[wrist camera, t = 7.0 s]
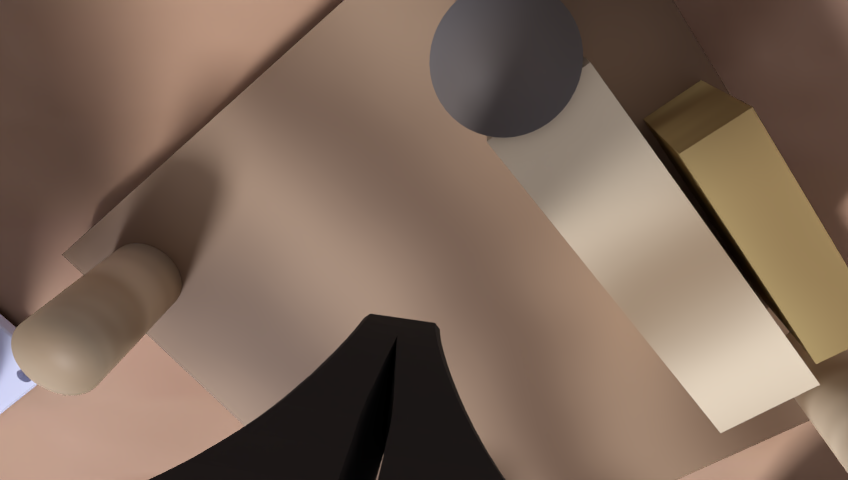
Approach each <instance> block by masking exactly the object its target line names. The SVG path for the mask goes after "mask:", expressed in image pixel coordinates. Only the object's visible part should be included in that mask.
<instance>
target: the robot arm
mask: <svg viewBox="0 0 848 480" xmlns="http://www.w3.org/2000/svg"><path fill="white" fill-rule="evenodd" d="M15 329H16V327H15V326H14V325H13V324H11V323H10V322H9V321H8V320H7V319H6V318H4V317H3V316H2V315H1V314H0V414H1V413H3V412H4V411H5V410H6V409H7V408H9V407H10V406H11V405H12V404H14V403H15V402H16V401H17V400H19V399H20V398H21V397H22V396H24V395H25V394H26V393H27V392H29V391H30V390H31V389H32V388H34V387H35V386H36V385H37V384H36V383H34V382H33V381H32V380H31V379H29V378H28V377H27V376H26V375H25V374H24V372H23V371H22V370H21V369H20V367H19V366H18V364H17V363H16V361H15V359H14V356H13V353H12V349H11V339H12V335H13V332H14V330H15ZM383 454H384V456H383ZM382 457H383V460H382ZM381 461H382V464H381ZM380 464H381V468H380ZM379 468H380V473H379V477H378V480H505V478H504V477H503V475H502V474H501V472H500V471H499V469H498V468H497V466H496V464H495V463H494V461H493V460H492V458H491V456H490V455H489V453H488V452H487V450H486V448H485V446H484V445H483V443H482V441H481V439H480V437H479V435H478V434H477V432H476V430H475V428H474V426H473V424H472V422H471V420H470V418H469V416H468V414H467V412H466V410H465V407H464V405H463V403H462V401H461V399H460V396H459V394H458V391H457V389H456V386H455V384H454V381H453V379H452V376H451V373H450V370H449V367H448V364H447V361H446V358H445V354H444V351H443V347H442V342H441V336H440V329H439V327H438V326H437V325H436V323H433V322H426V321H419V320H412V319H405V318H398V317H391V316H384V315H377V314H369V315H367V316H366V317H365V318H363V320H362V321H361V322H360V324H359V325H358V326H357V327H356V328H355V330H354V331H353V332H352V333H351V334H350V335H349V336H348V338H347V339H346V340H345V341H344V342H343V343H342V344H341V345H340V346H339V347H338V348H337V349H336V350H335V351H334V352H333V353H332V354H331V355H330V356H329V357H328V358H327V359H326V360H325V361H324V362H323V363H322V364H321V365H320V366H319V367H318V368H317V369H316V370H315V371H314V372H313V373H312V374H311V375H310V376H308V377H307V378H306V379H305V380H304V381H303V382H301V383H300V384H299V385H298V386H297V387H296V388H294V389H293V390H292V391H291V392H290V393H289V394H287V395H286V396H285V397H284V398H283V399H281V400H280V401H279V402H277V403H276V404H275V405H274V406H272V407H271V408H270V409H268V410H267V411H266V412H264V413H263V414H262V415H260V416H259V417H257V418H256V419H254V420H253V421H252V422H250V423H249V424H247V425H246V426H244V427H243V428H241V429H240V430H238V431H237V432H235V433H234V434H232V435H230V436H229V437H227V438H226V439H224V440H222V441H221V442H219V443H217V444H216V445H214V446H212V447H210V448H209V449H207V450H205V451H204V452H202V453H200V454H198V455H197V456H195V457H193V458H191V459H190V460H188V461H186V462H184V463H182V464H180V465H178V466H176V467H174V468H172V469H170V470H168V471H166V472H164V473H162V474H160V475H158V476H156V477H153V478H151V479H149V480H376V478H377V474H378V471H379Z"/></svg>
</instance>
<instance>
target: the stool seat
mask: <svg viewBox="0 0 848 480" xmlns="http://www.w3.org/2000/svg"><path fill="white" fill-rule="evenodd" d="M456 1H457V0H344V1H343V2H341V3H340V4H339V5H338V6H337V7H336V8H335V9H334V10H333V11H332V12H330V13H329V14H328V15H327V16H326V17H325V18H324V19H323V20H322V21H320V22H319V23H318V24H317V25H316V26H315V27H314V28H313V29H312V30H310V31H309V32H308V33H307V34H306V35H305V36H304V37H303V38H302V39H300V40H299V41H298V42H297V43H296V44H295V45H294V46H293V47H292V48H291V49H289V50H288V51H287V52H286V53H285V54H284V55H283V56H282V57H281V58H279V59H278V60H277V61H276V62H275V63H274V64H273V65H272V66H271V67H269V68H268V69H267V70H266V71H265V72H264V73H263V74H262V75H261V76H259V77H258V78H257V79H256V80H255V81H254V82H253V83H252V84H251V85H250V86H248V87H247V88H246V89H245V90H244V91H243V92H242V93H241V94H240V95H238V96H237V97H236V98H235V99H234V100H233V101H232V102H231V103H230V104H228V105H227V106H226V107H225V108H224V109H223V110H222V111H221V112H220V113H218V114H217V115H216V116H215V117H214V118H213V119H212V120H211V121H210V122H209V123H207V124H206V125H205V126H204V127H203V128H202V129H201V130H200V131H199V132H197V133H196V134H195V135H194V136H193V137H192V138H191V139H190V140H189V141H187V142H186V143H185V144H184V145H183V146H182V147H181V148H180V149H179V150H177V151H176V152H175V153H174V154H173V155H172V156H171V157H170V158H169V159H168V160H166V161H165V162H164V163H163V164H162V165H161V166H160V167H159V168H158V169H156V170H155V171H154V172H153V173H152V174H151V175H150V176H149V177H148V178H146V179H145V180H144V181H143V182H142V183H141V184H140V185H139V186H138V187H136V188H135V189H134V190H133V191H132V192H131V193H130V194H129V195H128V196H127V197H125V198H124V199H123V200H122V201H121V202H120V203H119V204H118V205H117V206H115V207H114V208H113V209H112V210H111V211H110V212H109V213H108V214H107V215H105V216H104V217H103V218H102V219H101V220H100V221H99V222H98V223H97V224H95V225H94V226H93V227H92V228H91V229H90V230H89V231H88V232H87V233H86V234H84V235H83V236H82V237H81V238H80V239H79V240H78V241H77V242H76V243H74V244H73V245H72V246H71V247H70V248H69V249H68V250H67V251H66V252H64V253H63V254H62V255H63V256H64V257H65V258H66V259H67V260H68V261H69V262H70V263H71V264H73V265H74V266H75V267H76V268H77V269H78V270H79V271H80V272H81V273H82V274H83V276H82V277H81V278H80V279H78V280H77V281H76V282H74V283H73V284H72V285H70V286H69V287H68V288H66V289H65V290H64V291H62V292H61V293H60V294H59V295H57V296H56V297H55V298H53V299H52V300H51V301H49V302H48V303H47V304H45V305H44V306H43V307H41V308H40V309H39V310H38V311H36V312H35V313H34V314H32V315H31V316H30V317H28V318H27V319H26V320H24V321H23V322H22V323H21V324H19V325H18V326H17V327H16V329H15V330H14V332H13V335H12V339H11V349H12V353H13V356H14V359H15V361H16V363H17V364H18V366H19V367H20V369H21V370H22V371H23V372H24V374H25V375H26V376H27V377H28V378H29V379H31V380H32V381H33V382H34V383H36V384H37V385H39V386H41V387H42V388H44V389H46V390H49V391H51V392H54V393H57V394H62V395H69V396H71V395H81V394H85V393H87V392H90V391H91V390H93V389H94V388H95V387H96V386H97V385H98V384H99V383H100V382H101V381H102V380H103V379H104V378H105V377H106V376H107V374H108V373H109V372H110V371H111V370H112V369H113V368H114V367H115V366H116V365H117V364H118V363H119V362H120V361H121V359H122V358H123V357H124V356H125V355H126V354H127V353H128V352H129V351H130V350H131V349H132V348H133V347H134V346H135V344H136V343H137V342H138V341H139V340H140V339H141V338H142V337H143V336H144V335H145V334H147V335H148V336H149V337H150V338H151V339H152V340H153V341H155V342H156V343H157V344H158V345H159V346H160V347H161V348H162V349H163V350H164V351H165V352H166V353H167V354H168V355H169V356H171V357H172V358H173V359H174V360H175V361H176V362H177V363H178V364H179V365H180V366H181V367H182V368H183V369H184V370H185V371H186V372H188V373H189V374H190V375H191V376H192V377H193V378H194V379H195V380H196V381H197V382H198V383H199V384H200V385H201V386H202V387H204V388H205V389H206V390H207V391H208V392H209V393H210V394H211V395H212V396H213V397H214V398H215V399H216V400H217V401H218V402H220V403H221V404H222V405H223V406H224V407H225V408H226V409H227V410H228V411H229V412H230V413H231V414H232V415H233V416H234V417H235V418H237V419H238V420H239V421H240V422H241V423H242V424H243V425H244V426H246V425H247V424H249V423H250V422H252V421H253V420H254V419H256V418H257V417H259V416H260V415H262V414H263V413H264V412H266V411H267V410H268V409H270V408H271V407H272V406H274V405H275V404H276V403H277V402H279V401H280V400H281V399H283V398H284V397H285V396H286V395H287V394H289V393H290V392H291V391H292V390H293V389H294V388H296V387H297V386H298V385H299V384H300V383H301V382H303V381H304V380H305V379H306V378H307V377H308V376H310V375H311V374H312V373H313V372H314V371H315V370H316V369H317V368H318V367H319V366H320V365H321V364H322V363H323V362H324V361H325V360H326V359H327V358H328V357H329V356H330V355H331V354H332V353H333V352H334V351H335V350H336V349H337V348H338V347H339V346H340V345H341V344H342V343H343V342H344V341H345V340H346V339H347V338H348V336H349V335H350V334H351V333H352V332H353V331H354V330H355V328H356V327H357V326H358V325H359V324H360V322H361V321H362V320H363V318H365V317H366V316H367V315H369V314H377V315H384V316H391V317H398V318H405V319H412V320H419V321H426V322H433V323H436V325H437V326H438V327H439V329H440V336H441V342H442V347H443V351H444V354H445V358H446V361H447V364H448V367H449V370H450V373H451V376H452V379H453V381H454V384H455V386H456V389H457V391H458V394H459V396H460V399H461V401H462V403H463V405H464V407H465V410H466V412H467V414H468V416H469V418H470V420H471V422H472V424H473V426H474V428H475V430H476V432H477V434H478V435H479V437H480V439H481V441H482V443H483V445H484V446H485V448H486V450H487V452H488V453H489V455H490V456H491V458H492V460H493V461H494V463H495V464H496V466H497V468H498V469H499V471H500V472H501V474H502V475H503V477H504V478H505V480H677V479H680V478H682V477H684V476H686V475H688V474H691V473H693V472H695V471H697V470H700V469H702V468H704V467H706V466H709V465H711V464H713V463H715V462H718V461H720V460H722V459H724V458H727V457H729V456H731V455H733V454H735V453H738V452H740V451H742V450H744V449H747V448H749V447H751V446H753V445H756V444H758V443H760V442H762V441H765V440H767V439H769V438H771V437H773V436H776V435H778V434H780V433H782V432H785V431H787V430H789V429H791V428H794V427H796V426H798V425H800V424H803V423H805V422H807V421H809V420H810V421H811V422H812V424H813V425H814V427H815V428H816V429H817V431H818V432H819V434H820V435H821V436H822V438H823V439H824V441H825V442H826V443H827V445H828V446H829V448H830V449H831V450H832V452H833V453H834V455H835V456H836V457H837V459H838V460H839V462H840V463H841V464H842V466H843V467H844V469H845V470H846V472H847V473H848V267H847V265H846V263H845V262H844V260H843V258H842V257H841V255H840V253H839V252H838V250H837V248H836V246H835V245H834V243H833V241H832V240H831V238H830V236H829V235H828V233H827V231H826V230H825V228H824V226H823V225H822V223H821V221H820V220H819V218H818V216H817V215H816V213H815V211H814V209H813V208H812V206H811V204H810V203H809V201H808V199H807V198H806V196H805V194H804V193H803V191H802V189H801V188H800V186H799V184H798V183H797V181H796V179H795V178H794V176H793V174H792V173H791V171H790V169H789V167H788V166H787V164H786V162H785V161H784V159H783V157H782V156H781V154H780V152H779V151H778V149H777V147H776V146H775V144H774V142H773V141H772V139H771V137H770V136H769V134H768V132H767V130H766V129H765V127H764V125H763V124H762V122H761V120H760V119H759V117H758V115H757V114H756V112H755V110H754V109H753V107H751V106H750V105H748V104H746V103H744V102H742V101H740V100H738V99H736V98H734V97H732V96H730V94H729V93H728V91H727V89H726V88H725V86H724V84H723V83H722V81H721V79H720V78H719V76H718V74H717V73H716V71H715V69H714V68H713V66H712V64H711V63H710V61H709V59H708V58H707V56H706V54H705V53H704V51H703V49H702V48H701V46H700V45H699V43H698V41H697V40H696V38H695V36H694V35H693V33H692V31H691V30H690V28H689V26H688V25H687V23H686V21H685V20H684V18H683V16H682V15H681V13H680V11H679V10H678V8H677V6H676V5H675V3H674V1H673V0H560V1H561V2H562V3H563V4H564V5H565V6H566V8H567V9H568V10H569V11H570V13H571V15H572V16H573V18H574V20H575V22H576V24H577V26H578V29H579V32H580V36H581V39H582V46H583V56H584V57H585V58H586V59H587V60H588V61H589V62H590V63H591V64H592V65H593V67H594V68H595V70H596V71H597V72H598V74H599V75H600V77H601V78H602V79H603V81H604V82H605V84H606V85H607V86H608V88H609V89H610V91H611V92H612V93H613V95H614V96H615V98H616V99H617V100H618V102H619V103H620V105H621V106H622V107H623V109H624V110H625V112H626V113H627V114H628V116H629V117H630V119H631V120H632V121H633V123H634V124H635V126H636V127H637V129H638V130H639V131H640V133H641V134H642V136H643V137H644V138H645V140H646V141H647V143H648V144H649V145H650V147H651V148H652V150H653V151H654V152H655V154H656V155H657V157H658V158H659V159H660V161H661V162H662V164H663V165H664V166H665V168H666V169H667V171H668V172H669V173H670V175H671V176H672V178H673V179H674V180H675V182H676V183H677V185H678V186H679V187H680V189H681V190H682V192H683V193H684V194H685V196H686V197H687V199H688V200H689V201H690V203H691V204H692V206H693V207H694V208H695V210H696V211H697V213H698V214H699V215H700V217H701V218H702V220H703V221H704V222H705V224H706V225H707V227H708V228H709V230H710V231H711V232H712V234H713V235H714V237H715V238H716V239H717V241H718V242H719V244H720V245H721V246H722V248H723V249H724V251H725V252H726V253H727V255H728V256H729V258H730V259H731V260H732V262H733V263H734V265H735V266H736V267H737V269H738V270H739V272H740V273H741V274H742V276H743V277H744V279H745V280H746V281H747V283H748V284H749V286H750V287H751V288H752V290H753V291H754V293H755V294H756V295H757V297H758V298H759V300H760V301H761V302H762V304H763V305H764V307H765V308H766V309H767V311H768V312H769V314H770V315H771V316H772V318H773V319H774V321H775V322H776V324H777V325H778V326H779V328H780V329H781V331H782V332H783V333H784V335H785V336H786V338H787V339H788V340H789V342H790V343H791V345H792V346H793V347H794V349H795V350H796V352H797V353H798V354H799V356H800V357H801V359H802V360H803V361H804V363H805V364H806V366H807V367H808V368H809V370H810V371H811V373H812V374H813V375H814V377H815V378H816V380H817V381H818V382H819V384H820V385H818V386H816V387H814V388H812V389H810V390H808V391H806V392H804V393H802V394H800V395H798V396H796V397H794V398H792V399H790V400H788V401H786V402H784V403H782V404H780V405H777V406H775V407H773V408H771V409H769V410H767V411H765V412H763V413H761V414H759V415H757V416H755V417H753V418H751V419H749V420H747V421H745V422H743V423H741V424H739V425H737V426H734V427H732V428H730V429H728V430H726V431H724V432H722V433H720V432H719V431H718V429H717V428H716V427H715V426H714V424H713V423H712V422H711V421H710V419H709V418H708V417H707V416H706V414H705V413H704V412H703V411H702V409H701V408H700V407H699V406H698V404H697V403H696V402H695V401H694V399H693V398H692V397H691V396H690V394H689V393H688V392H687V391H686V389H685V388H684V387H683V386H682V384H681V383H680V382H679V381H678V379H677V378H676V377H675V376H674V374H673V373H672V372H671V371H670V370H669V368H668V367H667V366H666V365H665V363H664V362H663V361H662V360H661V358H660V357H659V356H658V355H657V353H656V352H655V351H654V350H653V348H652V347H651V346H650V345H649V343H648V342H647V341H646V340H645V338H644V337H643V336H642V335H641V333H640V332H639V331H638V330H637V328H636V327H635V326H634V325H633V323H632V322H631V321H630V320H629V318H628V317H627V316H626V315H625V313H624V312H623V311H622V310H621V308H620V307H619V306H618V305H617V303H616V302H615V301H614V300H613V298H612V297H611V296H610V295H609V293H608V292H607V291H606V290H605V288H604V287H603V286H602V285H601V284H600V282H599V281H598V280H597V279H596V277H595V276H594V275H593V274H592V272H591V271H590V270H589V269H588V267H587V266H586V265H585V264H584V262H583V261H582V260H581V259H580V257H579V256H578V255H577V254H576V252H575V251H574V250H573V249H572V247H571V246H570V245H569V244H568V242H567V241H566V240H565V239H564V237H563V236H562V235H561V234H560V232H559V231H558V230H557V229H556V227H555V226H554V225H553V224H552V222H551V221H550V220H549V219H548V217H547V216H546V215H545V214H544V212H543V211H542V210H541V209H540V207H539V206H538V205H537V204H536V202H535V201H534V200H533V199H532V198H531V196H530V195H529V194H528V193H527V191H526V190H525V189H524V188H523V186H522V185H521V184H520V183H519V181H518V180H517V179H516V178H515V176H514V175H513V174H512V173H511V171H510V170H509V169H508V168H507V166H506V165H505V164H504V163H503V161H502V160H501V159H500V158H499V156H498V155H497V154H496V153H495V151H494V150H493V149H492V148H491V146H490V145H489V144H488V143H487V136H485V135H482V134H479V133H476V132H474V131H472V130H469V129H467V128H466V127H464V126H463V125H461V124H460V123H458V122H457V121H456V120H455V119H454V118H452V116H451V115H450V114H449V113H448V112H447V111H446V110H445V108H444V107H443V105H442V104H441V103H440V101H439V99H438V97H437V95H436V93H435V90H434V87H433V84H432V80H431V76H430V66H429V61H430V50H431V44H432V40H433V37H434V34H435V31H436V29H437V27H438V25H439V23H440V21H441V19H442V18H443V16H444V15H445V13H446V12H447V11H448V10H449V8H450V7H451V6H452V5H453V4H454V3H455V2H456ZM383 456H384V454H383ZM382 460H383V457H382ZM381 464H382V461H381ZM381 464H380V468H381ZM380 468H379V471H378V474H377V478H376V480H378V477H379V473H380Z"/></svg>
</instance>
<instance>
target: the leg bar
mask: <svg viewBox="0 0 848 480" xmlns="http://www.w3.org/2000/svg"><path fill="white" fill-rule="evenodd" d="M429 66H430V76H431V80H432V84H433V87H434V90H435V93H436V95H437V97H438V99H439V101H440V103H441V104H442V105H443V107H444V108H445V110H446V111H447V112H448V113H449V114H450V115H451V116H452V118H454V119H455V120H456V121H457V122H458V123H460V124H461V125H463V126H464V127H466V128H467V129H469V130H472V131H474V132H476V133H479V134H482V135H485V136H487V143H488V144H489V145H490V146H491V148H492V149H493V150H494V151H495V153H496V154H497V155H498V156H499V158H500V159H501V160H502V161H503V163H504V164H505V165H506V166H507V168H508V169H509V170H510V171H511V173H512V174H513V175H514V176H515V178H516V179H517V180H518V181H519V183H520V184H521V185H522V186H523V188H524V189H525V190H526V191H527V193H528V194H529V195H530V196H531V198H532V199H533V200H534V201H535V202H536V204H537V205H538V206H539V207H540V209H541V210H542V211H543V212H544V214H545V215H546V216H547V217H548V219H549V220H550V221H551V222H552V224H553V225H554V226H555V227H556V229H557V230H558V231H559V232H560V234H561V235H562V236H563V237H564V239H565V240H566V241H567V242H568V244H569V245H570V246H571V247H572V249H573V250H574V251H575V252H576V254H577V255H578V256H579V257H580V259H581V260H582V261H583V262H584V264H585V265H586V266H587V267H588V269H589V270H590V271H591V272H592V274H593V275H594V276H595V277H596V279H597V280H598V281H599V282H600V284H601V285H602V286H603V287H604V288H605V290H606V291H607V292H608V293H609V295H610V296H611V297H612V298H613V300H614V301H615V302H616V303H617V305H618V306H619V307H620V308H621V310H622V311H623V312H624V313H625V315H626V316H627V317H628V318H629V320H630V321H631V322H632V323H633V325H634V326H635V327H636V328H637V330H638V331H639V332H640V333H641V335H642V336H643V337H644V338H645V340H646V341H647V342H648V343H649V345H650V346H651V347H652V348H653V350H654V351H655V352H656V353H657V355H658V356H659V357H660V358H661V360H662V361H663V362H664V363H665V365H666V366H667V367H668V368H669V370H670V371H671V372H672V373H673V374H674V376H675V377H676V378H677V379H678V381H679V382H680V383H681V384H682V386H683V387H684V388H685V389H686V391H687V392H688V393H689V394H690V396H691V397H692V398H693V399H694V401H695V402H696V403H697V404H698V406H699V407H700V408H701V409H702V411H703V412H704V413H705V414H706V416H707V417H708V418H709V419H710V421H711V422H712V423H713V424H714V426H715V427H716V428H717V429H718V431H719V432H720V433H722V432H724V431H726V430H728V429H730V428H732V427H734V426H737V425H739V424H741V423H743V422H745V421H747V420H749V419H751V418H753V417H755V416H757V415H759V414H761V413H763V412H765V411H767V410H769V409H771V408H773V407H775V406H777V405H780V404H782V403H784V402H786V401H788V400H790V399H792V398H794V397H796V396H798V395H800V394H802V393H804V392H806V391H808V390H810V389H812V388H814V387H816V386H818V385H820V384H819V382H818V381H817V380H816V378H815V377H814V375H813V374H812V373H811V371H810V370H809V368H808V367H807V366H806V364H805V363H804V361H803V360H802V359H801V357H800V356H799V354H798V353H797V352H796V350H795V349H794V347H793V346H792V345H791V343H790V342H789V340H788V339H787V338H786V336H785V335H784V333H783V332H782V331H781V329H780V328H779V326H778V325H777V324H776V322H775V321H774V319H773V318H772V316H771V315H770V314H769V312H768V311H767V309H766V308H765V307H764V305H763V304H762V302H761V301H760V300H759V298H758V297H757V295H756V294H755V293H754V291H753V290H752V288H751V287H750V286H749V284H748V283H747V281H746V280H745V279H744V277H743V276H742V274H741V273H740V272H739V270H738V269H737V267H736V266H735V265H734V263H733V262H732V260H731V259H730V258H729V256H728V255H727V253H726V252H725V251H724V249H723V248H722V246H721V245H720V244H719V242H718V241H717V239H716V238H715V237H714V235H713V234H712V232H711V231H710V230H709V228H708V227H707V225H706V224H705V222H704V221H703V220H702V218H701V217H700V215H699V214H698V213H697V211H696V210H695V208H694V207H693V206H692V204H691V203H690V201H689V200H688V199H687V197H686V196H685V194H684V193H683V192H682V190H681V189H680V187H679V186H678V185H677V183H676V182H675V180H674V179H673V178H672V176H671V175H670V173H669V172H668V171H667V169H666V168H665V166H664V165H663V164H662V162H661V161H660V159H659V158H658V157H657V155H656V154H655V152H654V151H653V150H652V148H651V147H650V145H649V144H648V143H647V141H646V140H645V138H644V137H643V136H642V134H641V133H640V131H639V130H638V129H637V127H636V126H635V124H634V123H633V121H632V120H631V119H630V117H629V116H628V114H627V113H626V112H625V110H624V109H623V107H622V106H621V105H620V103H619V102H618V100H617V99H616V98H615V96H614V95H613V93H612V92H611V91H610V89H609V88H608V86H607V85H606V84H605V82H604V81H603V79H602V78H601V77H600V75H599V74H598V72H597V71H596V70H595V68H594V67H593V65H592V64H591V63H590V62H589V61H588V60H587V59H586V58H585V57H584V56H583V46H582V39H581V36H580V32H579V29H578V26H577V24H576V22H575V20H574V18H573V16H572V15H571V13H570V11H569V10H568V9H567V8H566V6H565V5H564V4H563V3H562V2H561V1H560V0H457V1H456V2H455V3H454V4H453V5H452V6H451V7H450V8H449V10H448V11H447V12H446V13H445V15H444V16H443V18H442V19H441V21H440V23H439V25H438V27H437V29H436V31H435V34H434V37H433V40H432V44H431V50H430V61H429Z"/></svg>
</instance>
